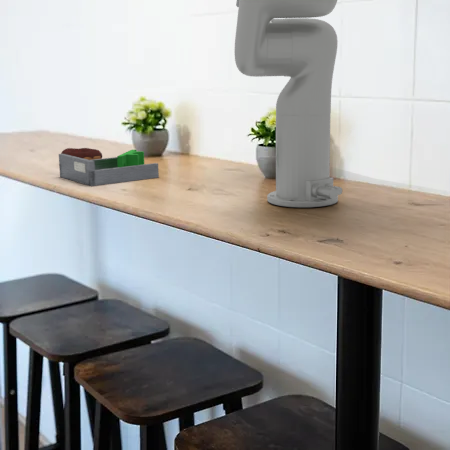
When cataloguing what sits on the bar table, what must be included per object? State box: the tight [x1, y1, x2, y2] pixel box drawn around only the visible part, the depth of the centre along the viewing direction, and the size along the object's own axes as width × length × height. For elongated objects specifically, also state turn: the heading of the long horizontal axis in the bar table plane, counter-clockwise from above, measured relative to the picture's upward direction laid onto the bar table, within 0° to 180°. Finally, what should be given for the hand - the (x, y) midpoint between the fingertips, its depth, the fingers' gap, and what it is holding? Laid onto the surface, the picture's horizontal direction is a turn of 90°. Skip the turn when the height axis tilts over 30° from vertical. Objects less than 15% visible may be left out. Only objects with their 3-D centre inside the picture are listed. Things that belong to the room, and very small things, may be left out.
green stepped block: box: [116, 149, 145, 167], centre depth 174 cm, size 11×4×5 cm, turn 170°
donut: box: [60, 147, 103, 160], centre depth 187 cm, size 10×10×4 cm
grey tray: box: [58, 153, 159, 187], centre depth 167 cm, size 15×16×5 cm
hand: (258, 36), depth 164 cm, fingers closed
